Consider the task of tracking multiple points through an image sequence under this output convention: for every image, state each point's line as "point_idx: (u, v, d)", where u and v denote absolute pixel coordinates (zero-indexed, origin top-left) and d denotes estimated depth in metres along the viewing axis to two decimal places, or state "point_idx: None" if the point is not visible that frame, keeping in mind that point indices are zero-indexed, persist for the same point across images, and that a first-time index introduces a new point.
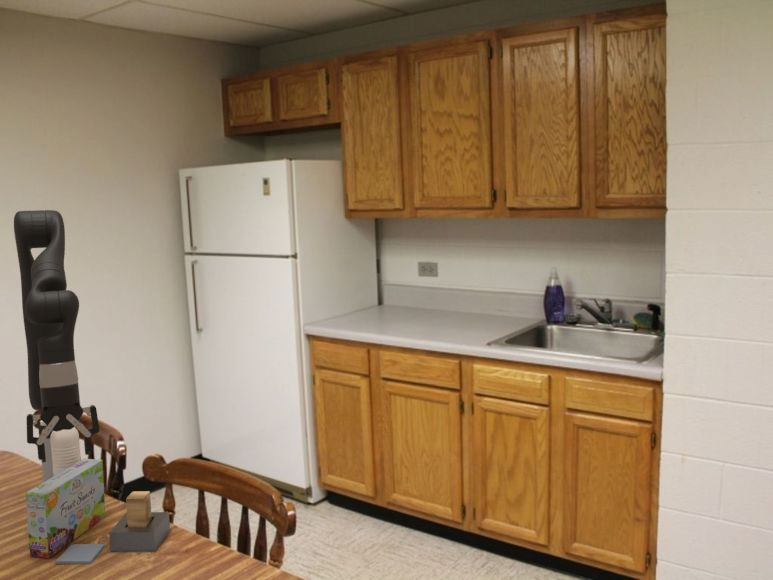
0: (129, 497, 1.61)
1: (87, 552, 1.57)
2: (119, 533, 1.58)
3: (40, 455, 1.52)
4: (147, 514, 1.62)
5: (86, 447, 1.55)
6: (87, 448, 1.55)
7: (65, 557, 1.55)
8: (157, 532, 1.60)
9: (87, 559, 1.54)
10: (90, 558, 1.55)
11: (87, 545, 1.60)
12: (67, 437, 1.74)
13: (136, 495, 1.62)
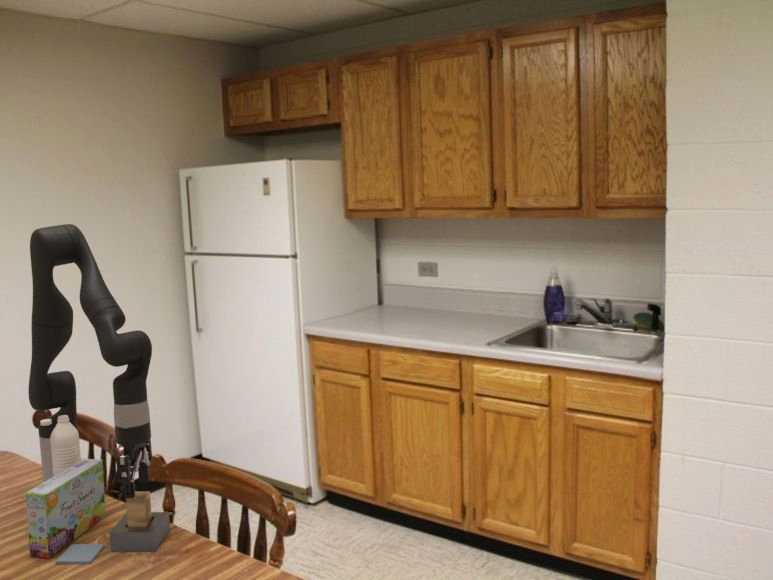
0: None
1: (87, 552, 1.57)
2: (119, 533, 1.58)
3: (131, 492, 1.57)
4: (147, 514, 1.62)
5: (148, 475, 1.65)
6: (148, 476, 1.66)
7: (65, 557, 1.55)
8: (157, 532, 1.60)
9: (87, 559, 1.54)
10: (90, 558, 1.55)
11: (87, 545, 1.60)
12: (67, 437, 1.74)
13: (136, 495, 1.62)
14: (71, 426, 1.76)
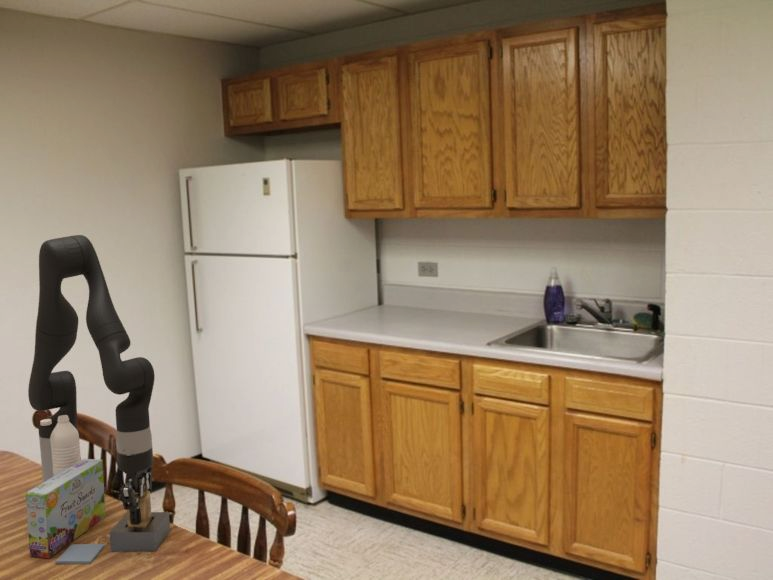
0: None
1: (87, 552, 1.57)
2: (119, 533, 1.58)
3: (137, 518, 1.60)
4: (147, 514, 1.62)
5: None
6: None
7: (65, 557, 1.55)
8: (157, 532, 1.60)
9: (87, 559, 1.54)
10: (90, 558, 1.55)
11: (87, 545, 1.60)
12: (67, 437, 1.74)
13: None
14: (71, 426, 1.76)
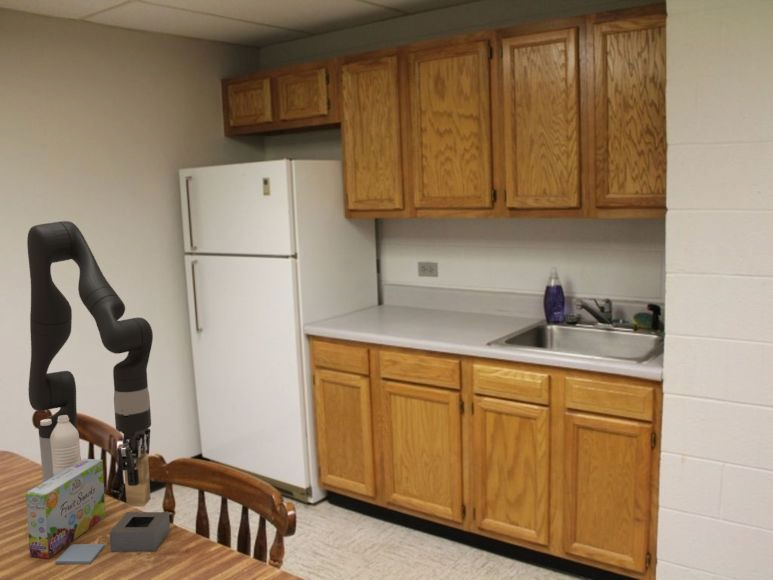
0: None
1: (87, 552, 1.57)
2: (119, 533, 1.58)
3: (135, 479, 1.59)
4: (145, 476, 1.61)
5: None
6: None
7: (65, 557, 1.55)
8: (157, 532, 1.60)
9: (87, 559, 1.54)
10: (90, 558, 1.55)
11: (87, 545, 1.60)
12: (67, 437, 1.74)
13: None
14: (71, 426, 1.76)
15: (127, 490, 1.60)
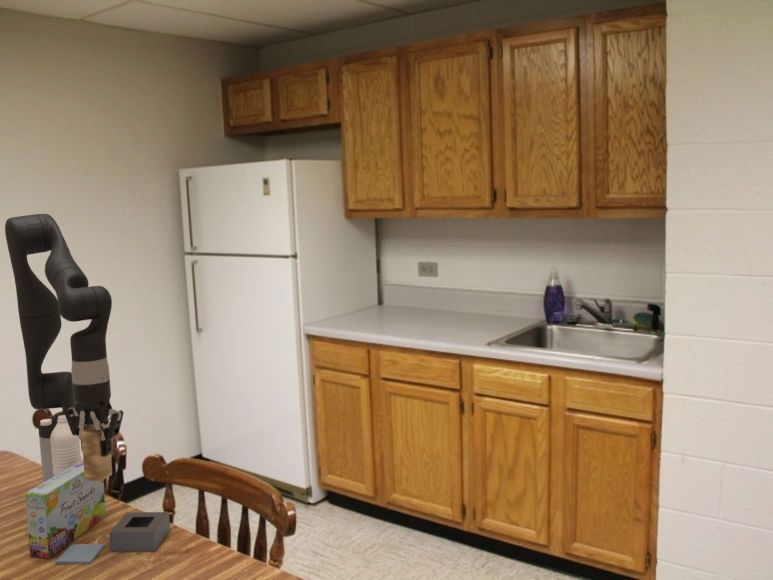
0: (95, 431, 1.54)
1: (87, 552, 1.57)
2: (119, 533, 1.58)
3: None
4: None
5: None
6: None
7: (65, 557, 1.55)
8: (157, 532, 1.60)
9: (87, 559, 1.54)
10: (90, 558, 1.55)
11: (87, 545, 1.60)
12: (67, 437, 1.74)
13: (95, 429, 1.56)
14: None
15: (100, 464, 1.55)
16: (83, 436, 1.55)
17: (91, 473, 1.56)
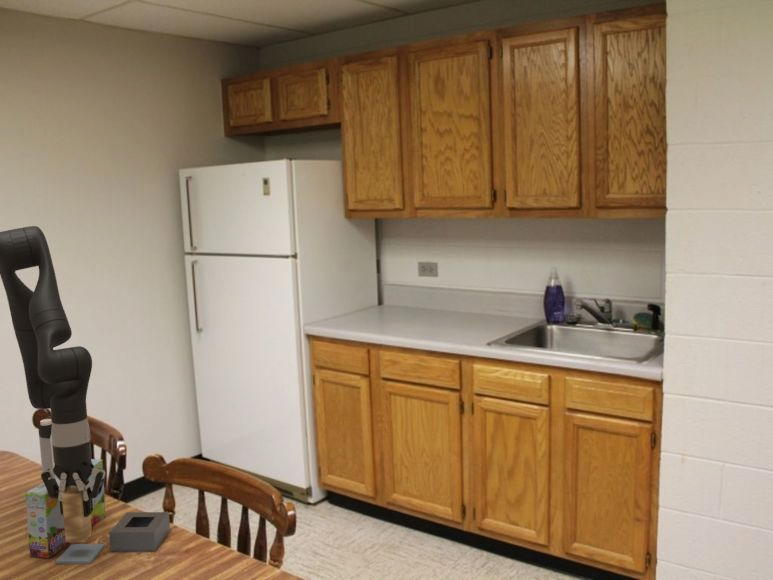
0: (78, 492, 1.54)
1: (87, 552, 1.57)
2: (119, 533, 1.58)
3: None
4: None
5: None
6: None
7: (65, 557, 1.55)
8: (157, 532, 1.60)
9: (87, 559, 1.54)
10: (90, 558, 1.55)
11: (87, 545, 1.60)
12: None
13: (76, 490, 1.55)
14: None
15: (83, 524, 1.54)
16: (64, 498, 1.53)
17: (73, 534, 1.54)
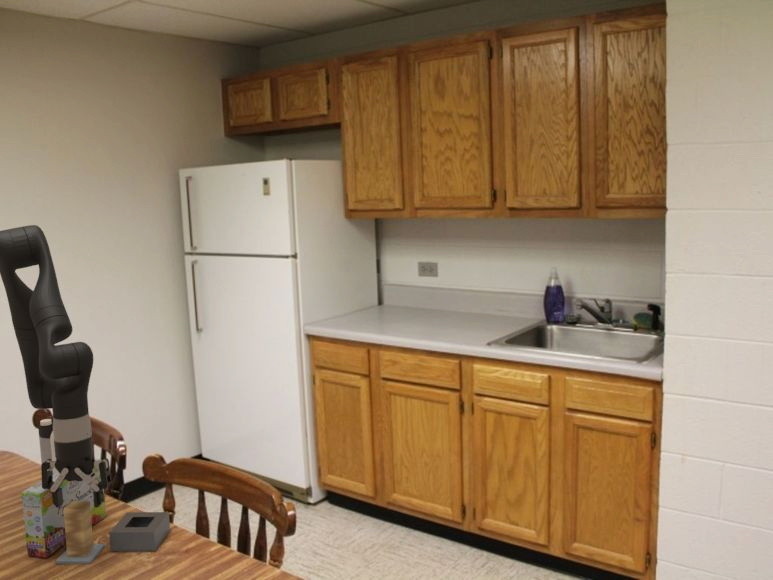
0: (79, 508, 1.54)
1: None
2: (119, 533, 1.58)
3: None
4: None
5: None
6: None
7: (65, 557, 1.55)
8: (157, 532, 1.60)
9: (87, 559, 1.54)
10: (90, 558, 1.55)
11: None
12: None
13: (77, 505, 1.55)
14: None
15: (85, 539, 1.55)
16: (66, 514, 1.54)
17: (75, 549, 1.55)
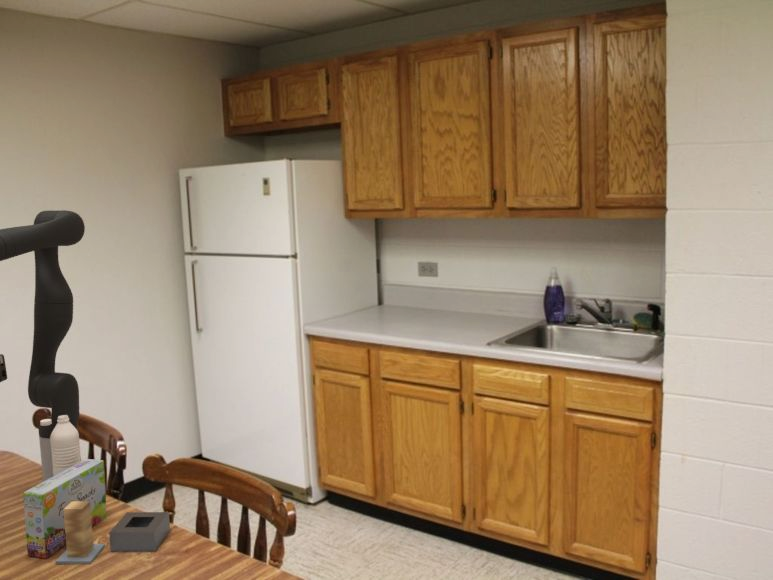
0: (79, 508, 1.54)
1: None
2: (119, 533, 1.58)
3: None
4: None
5: None
6: None
7: (65, 557, 1.55)
8: (157, 532, 1.60)
9: (87, 559, 1.54)
10: (90, 558, 1.55)
11: None
12: (67, 437, 1.74)
13: (77, 505, 1.55)
14: (71, 426, 1.76)
15: (85, 539, 1.55)
16: (66, 514, 1.54)
17: (75, 549, 1.55)
